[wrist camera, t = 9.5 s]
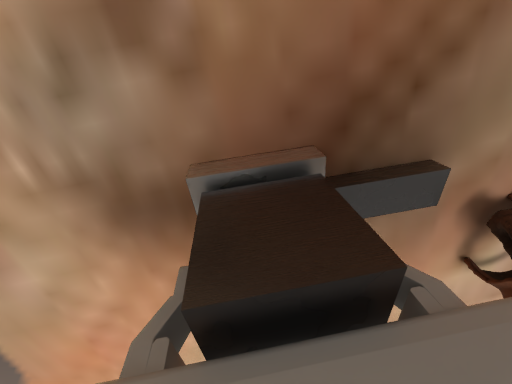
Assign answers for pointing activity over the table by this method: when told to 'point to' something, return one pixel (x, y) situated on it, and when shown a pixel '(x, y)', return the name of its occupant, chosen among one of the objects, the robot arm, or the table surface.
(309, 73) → the table surface
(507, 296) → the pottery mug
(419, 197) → the gray angular block
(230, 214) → the dark brown cube
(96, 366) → the table surface
